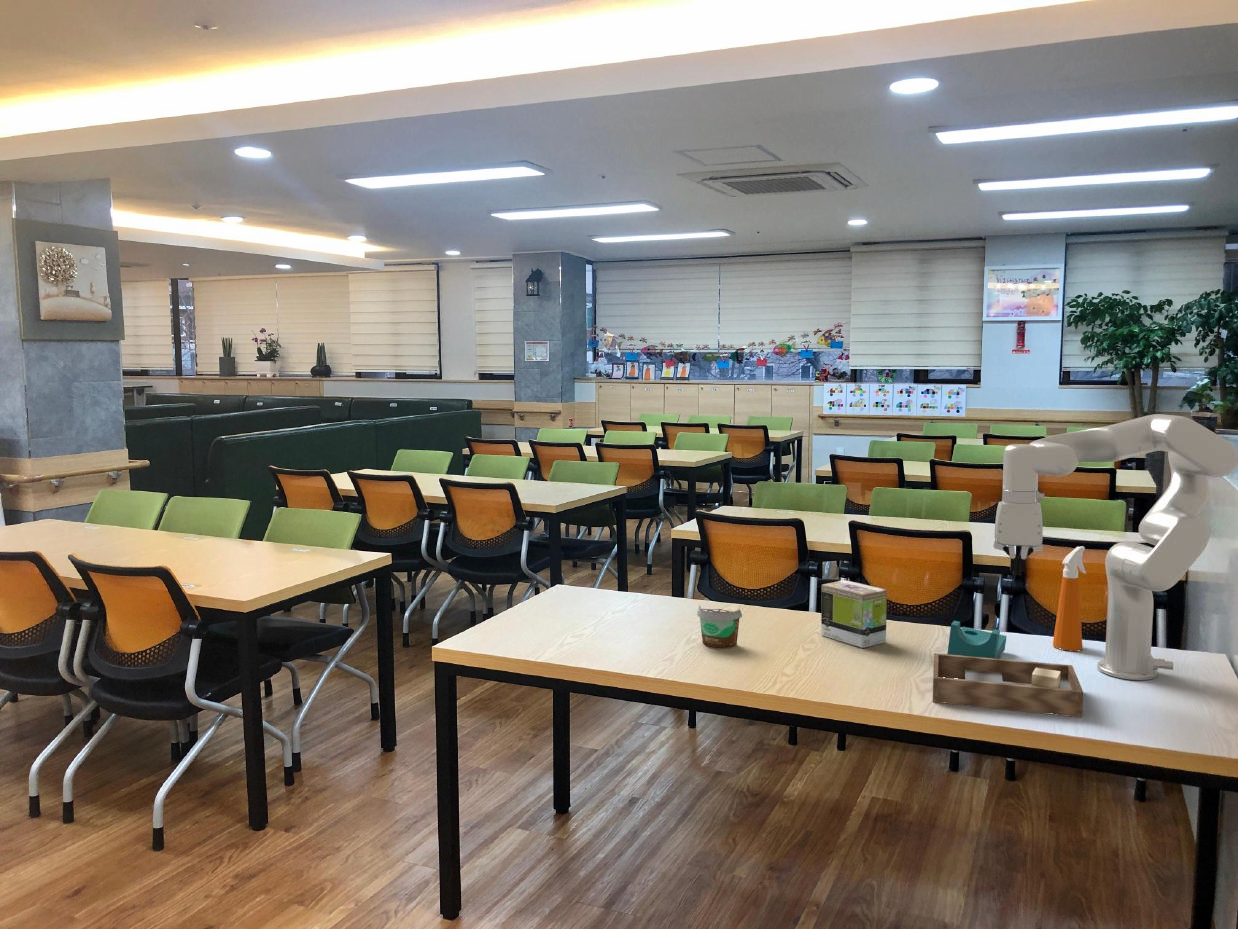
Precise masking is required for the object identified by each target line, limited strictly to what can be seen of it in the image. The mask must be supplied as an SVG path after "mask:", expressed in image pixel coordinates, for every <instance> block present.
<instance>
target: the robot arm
mask: <svg viewBox="0 0 1238 929" xmlns="http://www.w3.org/2000/svg"><path fill="white" fill-rule="evenodd" d="M1158 451H1159V452H1160V451H1162V452H1168V454H1167V457H1168V458H1167V459H1168V463H1169V468H1170V474H1171V475H1170V481H1169V485H1168V487H1167V488H1166V489H1165V491H1164V492H1163V493H1162V495H1161V496H1160V497H1159V498H1158V500H1156V502H1155V503H1154V504H1153V506H1152V507H1151V508H1150V509H1149V511H1148V512H1147V513H1146V514H1145V515H1144V517H1143V518H1142V519H1141V521H1140V523H1139V525H1138V533H1139V536H1140V537H1141V539H1142V540H1143V541H1145V542H1146V543H1148V544H1149V545H1153V546H1154V547H1151V546H1149V545H1146V544H1142V543H1138V542H1136V541H1121V542H1118V543H1115V544H1113V546H1111V547H1110V548H1109V549H1108V551H1107V553H1106V556H1105V562H1104V563H1105V565H1104V566H1105V573H1106V579H1107V592H1108V593H1107V610H1106V615H1107V616H1106V632H1105V633H1106V634H1105V651H1104V652H1105V654H1104V655H1105V656H1104V657H1105V658H1104V659H1102V660H1100V661H1098V662H1097V669H1098V671H1100V672H1101V673H1103V674H1105V675H1108V676H1111V677H1114V678H1118V679H1122V680H1123V679H1125V680H1132V681H1147V680H1153V679H1156V678H1157V677H1158V669H1164V670H1171V671H1173V670H1174V662H1173V661H1171V660H1165V658H1155V657H1153V655H1152V654H1151V653H1152V636H1153V619H1154V618H1153V617H1154V597H1153V596H1154V594H1153V592H1165V591H1167V590H1170V589H1171V588H1172V587H1173V586H1175V585H1176V584H1178V582H1179V581H1180V580H1181V579H1182V577H1183V576H1185V574H1186V573H1187V571H1188V570H1190V568H1191V567H1192V566H1193V564H1195V562H1196V561H1197V560H1198V558H1199V557H1200V556H1201V555H1202V554H1203V553H1204V551H1205V550H1206V547H1207V545H1208V543H1209V541H1210V540H1209V539H1210V533H1211V532H1210V528H1209V525H1208V523H1207V522H1206V521H1205V520H1204V519H1203V518H1202V517H1200V516H1199V514H1200V513H1201V511H1202V510H1203V509H1204V508H1205V505H1206V503H1207V502H1208V500H1209V499H1208V498H1209V492H1210V490H1209V481H1208V477H1212V478H1221V477H1222V478H1223V477H1226V476H1228V475H1231V474H1232V473H1233V472H1234V471H1235V470H1236V469H1237V468H1238V449H1237V448H1236V447H1235V445H1233V444H1232V442H1230V441H1229V440H1227V439H1226V438H1224V437H1222V436H1220V435H1218V434H1217V433H1215V432H1213V431H1212V430H1210V429H1208V428H1207V427H1205V426H1204V425H1202V424H1200V423H1198V422H1196V421H1195V420H1193V419H1191V418H1188V417H1186V416H1181V415H1174V414H1173V415H1172V414H1163V413H1162V414H1161V413H1159V414H1158V413H1156V414H1150V415H1148V414H1147V415H1145V416H1141V417H1137V418H1133V419H1129V420H1126V421H1121V422H1118V423H1114V424H1110V425H1106V426H1100V427H1093V428H1088V429H1087V428H1086V429H1083V430H1077V431H1070V432H1065V433H1059V434H1055V435H1050V436H1047V437H1043V438H1040V439H1037V440H1033V441H1032V442H1029V444H1025V443H1011V444H1008V445H1006V447H1004V450H1003V464H1002V467H1003V470H1002V471H1003V472H1002V495H1001V496H1002V497H1001V501H998V504H997V508H996V515H995V524H994V539H995V540H994V542H993V544H992V546H993V548H994V549H995V550H999V551H1003V552H1004V553H1006V554H1007V556H1008V557H1009V558H1010V561H1009V562H1010V565H1009V566H1010V568H1009V571H1010V572H1012V575H1013V576H1018V577H1021V576H1022V573H1024V572H1025V568H1026V567H1025V565H1026V564H1025V563H1026V561H1025V560H1026V559H1027V558H1028V557H1029V556H1030V555H1031V554H1032V553H1037V552H1042V551H1044V546H1043V532H1044V531H1043V530H1044V528H1043V515H1042V512H1043V511H1042V506H1041V505H1042V504H1041V503H1040V502H1039V501H1040V500H1044V499H1045V493H1044V492H1043V493H1042V492H1040V491H1039V476H1050V477H1065V476H1068V475H1070V474H1072V473H1073V472H1074V471H1075V470H1076V468H1077V467H1078V464H1079V463H1113V462H1118V461H1122V460H1127V459H1129V458H1134V457H1137V456H1141V455H1146V454H1150V453H1153V452H1158ZM1015 547H1020V552H1019V554H1018V556H1017V554H1016V550H1015Z"/></svg>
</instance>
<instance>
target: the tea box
mask: <svg viewBox="0 0 1238 929" xmlns="http://www.w3.org/2000/svg"><path fill="white" fill-rule="evenodd" d="M887 591H888V589H886V588H882V587H877V586H873V585H868V584H865V583H860V582H857V581H855V582H854V581H851V580H846V579H844V580H838V581H834V582H828V583H823V584H821V602H820V603H821V604H820V606H821V608H820V609H821V612H820V614H821V616H820V617H821V618H820V623H821V624H820V627H821V629H820V633H821V636H822V635H823V637H826V638H829V639H833V640H835V641H838V642H842V643H845V644H849V645H852V646H856V647H858V648H861V649H864V648H868V647H874V646H877V645H880V644H881V645H882V644H883V643H886V641H887V639H886V638H887V606H888V605H887V600H888V599H887V597H888V596H887V595H888V592H887Z"/></svg>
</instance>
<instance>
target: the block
mask: <svg viewBox="0 0 1238 929" xmlns="http://www.w3.org/2000/svg"><path fill="white" fill-rule="evenodd" d="M1060 673H1061V671H1055V670H1049V669H1042V668H1035V670H1034V671H1033V673H1032V686H1038V687H1048V688H1059V689H1060Z"/></svg>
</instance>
